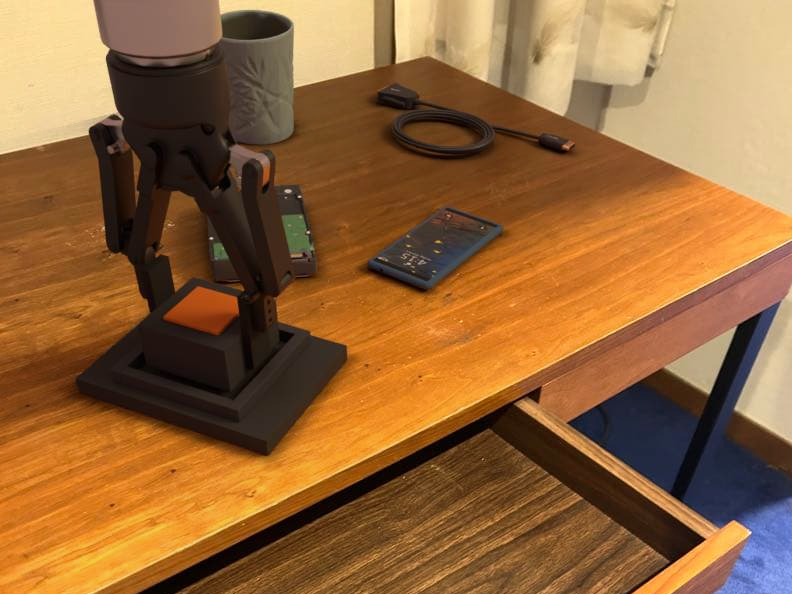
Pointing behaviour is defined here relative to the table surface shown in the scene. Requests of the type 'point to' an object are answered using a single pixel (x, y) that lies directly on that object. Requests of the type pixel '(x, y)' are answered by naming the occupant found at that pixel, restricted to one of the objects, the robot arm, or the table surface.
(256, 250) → the robot arm
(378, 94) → the cable
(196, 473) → the table surface
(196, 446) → the table surface
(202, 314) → the black and orange block
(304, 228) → the disk drive
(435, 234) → the smartphone
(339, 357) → the base pad
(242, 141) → the grey embossed cup
